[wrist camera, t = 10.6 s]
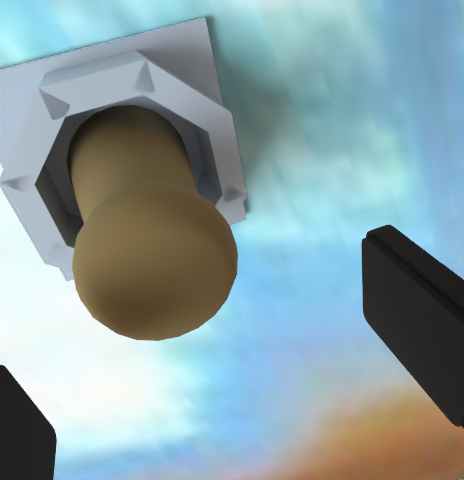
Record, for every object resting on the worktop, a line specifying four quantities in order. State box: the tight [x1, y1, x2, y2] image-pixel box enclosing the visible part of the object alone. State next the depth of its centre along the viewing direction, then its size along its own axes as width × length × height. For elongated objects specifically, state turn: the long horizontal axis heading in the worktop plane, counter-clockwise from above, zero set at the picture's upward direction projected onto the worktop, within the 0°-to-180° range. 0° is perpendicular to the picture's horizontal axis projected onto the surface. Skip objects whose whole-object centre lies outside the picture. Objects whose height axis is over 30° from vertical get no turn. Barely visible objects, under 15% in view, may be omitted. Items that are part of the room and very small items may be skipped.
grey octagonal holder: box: [0, 17, 248, 281], centre depth 19 cm, size 11×11×4 cm
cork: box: [66, 105, 238, 341], centre depth 16 cm, size 6×6×11 cm
